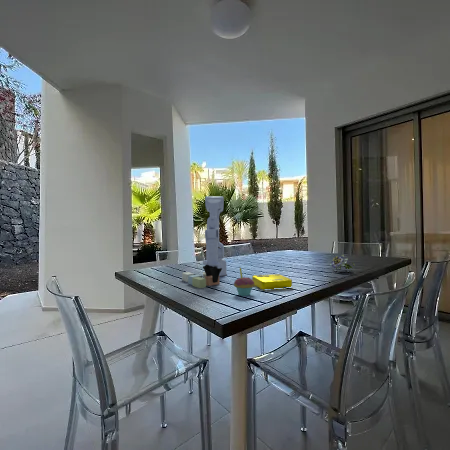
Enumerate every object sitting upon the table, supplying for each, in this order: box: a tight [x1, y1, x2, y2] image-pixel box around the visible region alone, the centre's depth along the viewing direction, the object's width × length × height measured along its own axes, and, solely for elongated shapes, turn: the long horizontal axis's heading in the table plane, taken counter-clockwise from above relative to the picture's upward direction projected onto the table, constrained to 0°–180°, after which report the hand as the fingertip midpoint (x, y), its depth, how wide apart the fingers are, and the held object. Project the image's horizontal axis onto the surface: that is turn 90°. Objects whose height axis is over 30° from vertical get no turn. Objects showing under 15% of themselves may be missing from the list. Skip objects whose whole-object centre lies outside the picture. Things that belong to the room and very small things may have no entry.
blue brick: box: [187, 274, 203, 286], centre depth 144 cm, size 6×4×4 cm, turn 134°
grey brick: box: [181, 271, 195, 283], centre depth 150 cm, size 6×4×4 cm, turn 34°
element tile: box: [251, 273, 293, 290], centre depth 138 cm, size 15×15×5 cm
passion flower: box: [329, 254, 355, 270], centre depth 175 cm, size 11×11×12 cm
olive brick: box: [192, 277, 207, 289], centre depth 138 cm, size 6×4×4 cm, turn 40°
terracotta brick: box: [205, 276, 221, 287], centre depth 142 cm, size 6×4×4 cm, turn 123°
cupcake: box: [233, 267, 256, 297], centre depth 123 cm, size 9×8×12 cm
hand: (212, 281), depth 142 cm, fingers open, 5 cm apart
